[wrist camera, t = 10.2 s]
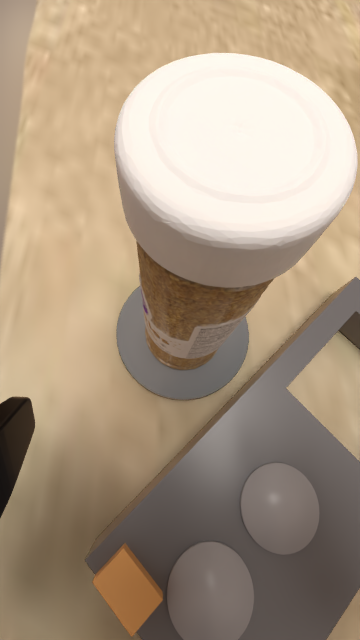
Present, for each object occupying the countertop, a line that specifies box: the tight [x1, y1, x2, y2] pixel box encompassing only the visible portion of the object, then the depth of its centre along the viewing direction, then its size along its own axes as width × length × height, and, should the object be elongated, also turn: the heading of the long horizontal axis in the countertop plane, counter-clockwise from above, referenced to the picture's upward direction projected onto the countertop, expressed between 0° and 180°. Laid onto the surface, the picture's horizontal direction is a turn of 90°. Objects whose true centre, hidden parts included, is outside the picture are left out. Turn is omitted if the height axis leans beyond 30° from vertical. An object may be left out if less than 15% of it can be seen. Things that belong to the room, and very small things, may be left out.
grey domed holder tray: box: [85, 277, 360, 640], centre depth 15 cm, size 20×9×3 cm, turn 133°
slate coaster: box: [117, 286, 249, 400], centre depth 18 cm, size 8×8×1 cm
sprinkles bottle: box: [114, 53, 357, 370], centre depth 12 cm, size 5×5×13 cm
